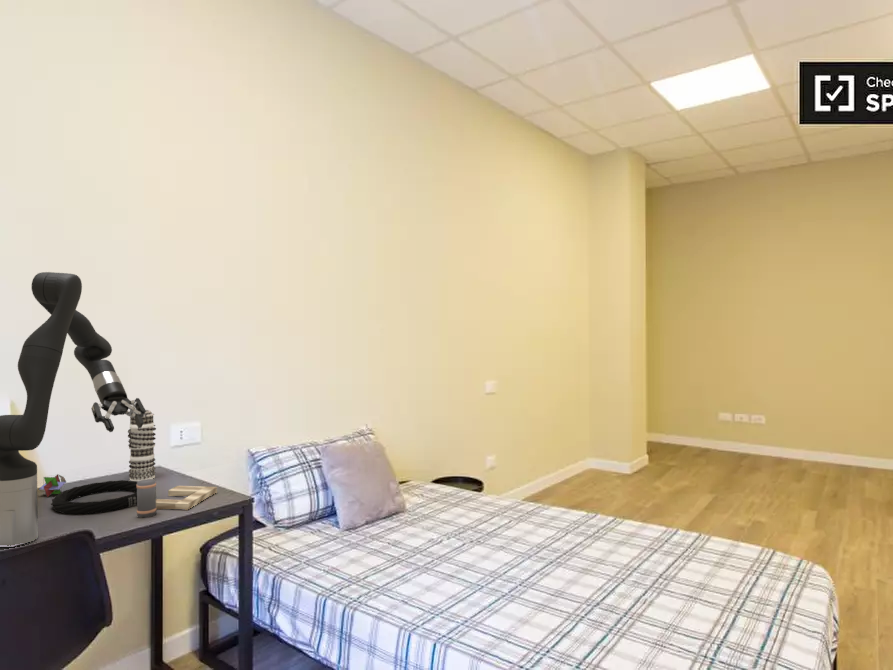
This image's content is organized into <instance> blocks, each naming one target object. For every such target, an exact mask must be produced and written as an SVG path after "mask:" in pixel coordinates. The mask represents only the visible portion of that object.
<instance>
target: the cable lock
mask: <svg viewBox="0 0 893 670" xmlns="http://www.w3.org/2000/svg"><path fill="white" fill-rule="evenodd" d="M137 482H138V481H130V480H124V479H122V480H121V479H120V480H108V481H102V482H93V483H88V484H83V485H81V486H74V487H71V488H70V489H69V488H68V489H65V490H63V491H61V493H60V494H55V495H54V498H52V499H51V503H50V505H52V506H51V508H52V509H54V511H56V512H57V513H58V512H59V513H61V514H64V513H65V514H67V515H87V514H88V513H91V514H100V512H101V513H105V512H106V511H107V512H112V510H113V511H117V509H118V510H120V509H121V508H122V509H124V507H125V508H132V507H136V506H137ZM117 490H126V491H125V492H129V491H130V492H133V493H132V494H128V495H124V496H121V497H120V496H119V497H118V498H117V497H116V498H112V499H111V498H110V499H106V500H99V501H97V500H94V501H87V502H86V501H85V502H84V501H83V502H81V501H79V502H77V501H72V500H74V499H77V498H80V497H79V496H81V497H84V496H83V495H85V496H88V495H92V494H91V493H94V494H98V493H97V492H101V493H104V491H108V492H118V491H117ZM134 491H135V492H134ZM71 499H72V500H71ZM131 506H132V507H131ZM88 515H89V514H88Z"/></svg>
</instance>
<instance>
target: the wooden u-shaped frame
mask: <svg viewBox="0 0 893 670" xmlns="http://www.w3.org/2000/svg"><path fill="white" fill-rule="evenodd" d="M215 493H216V494H217V493H218V487H217V486H200V485H199V486H198V485H197V486H196V485H195V486H194V485H176V486H175V487H172V488H170V489H168V490H167V497H168V496H188V497H183V499H167V498H166V499H165V498H164V499H162V498H156V510H162V509H185V510H184V511H189V510H191V509H192V507H193V506H194V507H196V506H198V505H199V504H201V503H202V502H201V501H203V500H204V499H206V498H207V497H209V496H211V495H213V494H214V495H216V494H215ZM214 495H213V496H214ZM211 497H212V496H211ZM209 498H210V497H209ZM206 500H207V499H206ZM204 501H205V500H204ZM204 501H203V502H204ZM200 502H201V503H200ZM198 503H199V504H198ZM197 504H198V505H197ZM195 505H196V506H195ZM194 507H193V508H194ZM190 508H191V509H190ZM188 509H189V510H188Z"/></svg>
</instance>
